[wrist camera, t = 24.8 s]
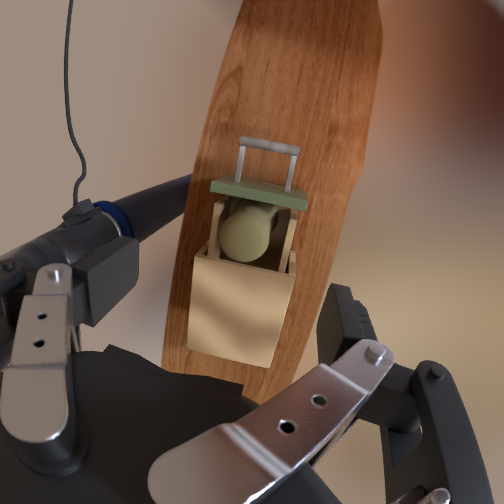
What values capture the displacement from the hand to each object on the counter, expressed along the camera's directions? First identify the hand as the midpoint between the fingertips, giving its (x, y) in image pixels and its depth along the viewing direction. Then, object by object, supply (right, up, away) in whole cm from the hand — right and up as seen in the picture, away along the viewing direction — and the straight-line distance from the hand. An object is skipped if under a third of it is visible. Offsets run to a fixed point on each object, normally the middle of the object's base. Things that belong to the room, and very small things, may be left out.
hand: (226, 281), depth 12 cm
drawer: (+2, +7, +29) cm, 29 cm away
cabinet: (0, -4, +34) cm, 34 cm away
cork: (+2, +6, +28) cm, 29 cm away
